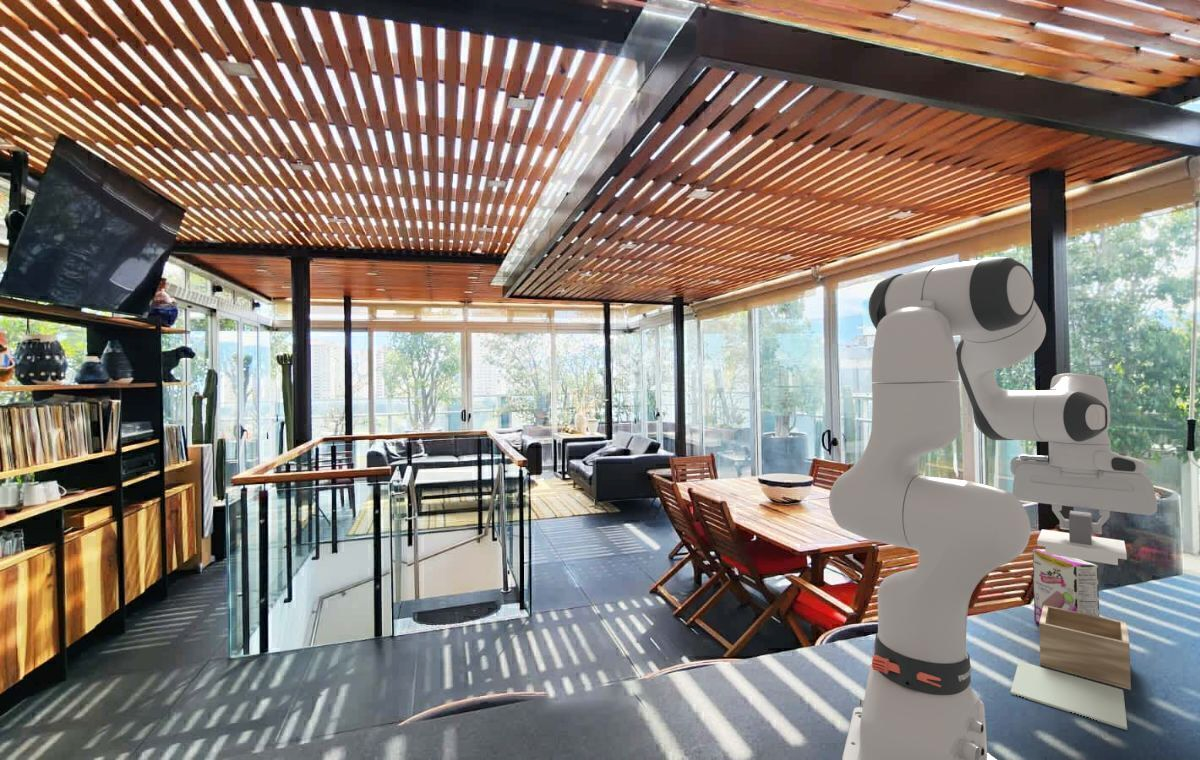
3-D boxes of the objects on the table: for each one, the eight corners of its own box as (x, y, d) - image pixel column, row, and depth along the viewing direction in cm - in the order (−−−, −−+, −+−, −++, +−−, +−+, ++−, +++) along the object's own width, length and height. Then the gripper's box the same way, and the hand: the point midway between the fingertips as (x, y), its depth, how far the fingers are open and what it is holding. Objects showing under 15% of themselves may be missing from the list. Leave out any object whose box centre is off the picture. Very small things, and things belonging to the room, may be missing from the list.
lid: (1127, 568, 91) (1126, 524, 91) (1037, 553, 99) (1036, 513, 99) (1124, 553, 99) (1123, 514, 100) (1042, 541, 108) (1041, 504, 108)
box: (1130, 690, 90) (1129, 644, 90) (1040, 666, 98) (1039, 623, 98) (1127, 665, 99) (1126, 622, 99) (1044, 644, 107) (1043, 604, 107)
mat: (1127, 730, 79) (1127, 727, 79) (1010, 693, 89) (1010, 691, 89) (1123, 692, 89) (1123, 689, 89) (1018, 663, 99) (1018, 661, 99)
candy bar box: (1032, 621, 117) (1030, 548, 118) (1054, 622, 117) (1053, 548, 117) (1076, 645, 106) (1075, 564, 106) (1101, 646, 106) (1099, 564, 106)
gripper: (1008, 454, 105) (1009, 524, 104) (1157, 464, 90) (1159, 544, 90) (1012, 452, 109) (1013, 519, 109) (1154, 461, 95) (1156, 538, 95)
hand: (1080, 531), depth 99 cm, fingers closed on lid, 3 cm apart
